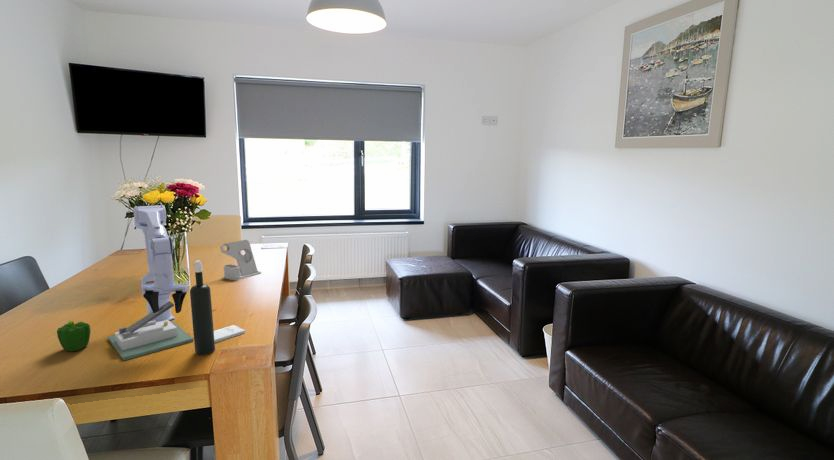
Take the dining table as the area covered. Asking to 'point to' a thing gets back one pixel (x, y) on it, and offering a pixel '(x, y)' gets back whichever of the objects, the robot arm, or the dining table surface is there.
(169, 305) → the strap
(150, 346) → the green base plate
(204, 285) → the wine bottle
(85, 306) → the dining table surface
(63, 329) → the bell pepper
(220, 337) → the external hard drive
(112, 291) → the dining table surface
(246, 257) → the phone holder
